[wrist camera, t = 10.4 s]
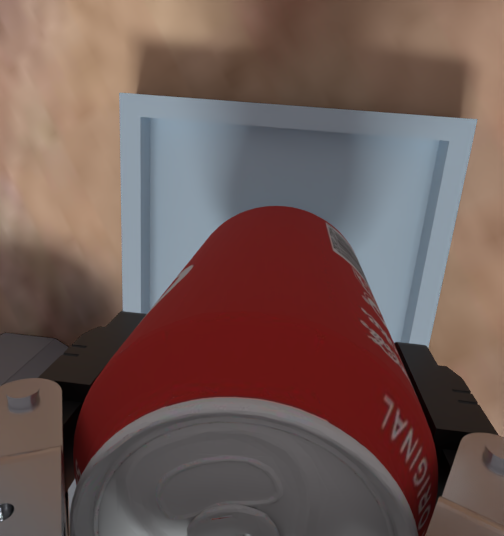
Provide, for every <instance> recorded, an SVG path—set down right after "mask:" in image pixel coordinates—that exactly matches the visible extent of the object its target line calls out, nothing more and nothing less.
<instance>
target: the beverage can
mask: <svg viewBox="0 0 504 536" xmlns="http://www.w3.org/2000/svg"><path fill="white" fill-rule="evenodd" d="M73 463H74V475H75V480H76V485H77V486H76V489H75V492H74V496H73V499H72V504H71V510H70V536H425V535H426V532H427V530H428V527H429V524H430V521H431V518H432V515H433V512H434V509H435V504H436V498H437V492H438V464H437V455H436V449H435V444H434V441H433V437H432V434H431V431H430V428H429V426H428V423H427V420H426V418H425V415H424V413H423V410H422V407H421V405H420V402H419V400H418V398H417V395H416V393H415V391H414V388H413V386H412V384H411V382H410V379H409V377H408V375H407V372H406V370H405V368H404V365H403V363H402V361H401V358H400V356H399V354H398V351H397V349H396V347H395V344H394V342H393V340H392V338H391V335H390V333H389V331H388V328H387V326H386V324H385V321H384V319H383V317H382V314H381V312H380V310H379V307H378V305H377V303H376V301H375V298H374V296H373V294H372V291H371V289H370V287H369V284H368V282H367V280H366V277H365V275H364V273H363V270H362V268H361V266H360V263H359V261H358V259H357V257H356V255H355V253H354V251H353V249H352V247H351V246H350V244H349V243H348V241H347V240H346V239H345V238H344V236H343V235H342V234H341V233H340V232H339V231H338V230H337V229H336V228H335V227H333V226H332V225H331V224H330V223H328V222H327V221H325V220H324V219H322V218H320V217H319V216H317V215H315V214H313V213H310V212H308V211H305V210H301V209H298V208H294V207H287V206H265V207H258V208H254V209H250V210H247V211H244V212H242V213H239V214H237V215H235V216H233V217H232V218H230V219H228V220H227V221H225V222H224V223H223V224H221V225H220V226H219V227H218V228H217V229H216V230H215V231H214V232H213V233H212V234H211V235H210V236H209V237H208V239H207V240H206V241H205V242H204V244H203V245H202V246H201V247H200V249H199V250H198V251H197V252H196V254H195V255H194V256H193V257H192V259H191V260H190V261H189V262H188V263H187V265H186V266H185V267H184V268H183V270H182V271H181V272H180V273H179V275H178V276H177V277H176V278H175V280H174V281H173V282H172V283H171V285H170V286H169V287H168V288H167V290H166V291H165V292H164V293H163V295H162V296H161V297H160V298H159V300H158V301H157V302H156V303H155V305H154V306H153V307H152V308H151V310H150V311H149V312H148V313H147V314H146V316H145V317H144V318H143V319H142V321H141V322H140V323H139V324H138V326H137V327H136V328H135V329H134V331H133V332H132V333H131V334H130V336H129V337H128V338H127V339H126V341H125V342H124V343H123V344H122V346H121V347H120V348H119V349H118V351H117V352H116V353H115V354H114V356H113V357H112V358H111V359H110V361H109V362H108V363H107V365H106V366H105V367H104V369H103V370H102V371H101V373H100V374H99V376H98V377H97V378H96V380H95V381H94V383H93V385H92V386H91V388H90V390H89V392H88V394H87V396H86V398H85V400H84V403H83V405H82V408H81V411H80V414H79V417H78V420H77V425H76V430H75V435H74V448H73Z"/></svg>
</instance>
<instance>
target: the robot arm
mask: <svg viewBox="0 0 504 536" xmlns="http://www.w3.org/2000/svg"><path fill="white" fill-rule="evenodd" d="M145 316H146V314H144V313H135V312H126V311H121V312H120V313H119V314H118V315H117V316H116V317H115V318H114V319H113V320H112V321H111V322H110V323H109V324H108V325H107V326H106V327H97V328H95V329H93V330H91V331H89V332H86V333H84V334H82V335H81V336H80V337H79V338H78V339H77V340H76V341H75V342H74V343H73V344H72V347H71V346H70V347H69V348H68V349H67V350H66V351H65V352H64V353H63V355H61V356H60V357H59V358H58V359H57V360H55V361H54V362H53V363H52V364H51V365H50V366H49V367H48V368H47V369H46V370H45V371H44V372H43V373H42V374H41V375H40V376H39V377H38V378H27V379H21V380H16V381H12V382H9V383H7V384H4V385H2V386H0V536H70V525H69V495H68V489H69V487H70V486H71V484H72V482H73V481H74V479H75V475H74V463H73V448H74V435H75V430H76V425H77V420H78V417H79V414H80V411H81V408H82V405H83V403H84V400H85V398H86V396H87V394H88V392H89V390H90V388H91V386H92V385H93V383H94V381H95V380H96V378H97V377H98V376H99V374H100V373H101V371H102V370H103V369H104V367H105V366H106V365H107V363H108V362H109V361H110V359H111V358H112V357H113V356H114V354H115V353H116V352H117V351H118V349H119V348H120V347H121V346H122V344H123V343H124V342H125V341H126V339H127V338H128V337H129V336H130V334H131V333H132V332H133V331H134V329H135V328H136V327H137V326H138V324H139V323H140V322H141V321H142V319H143V318H144V317H145ZM394 344H395V347H396V349H397V351H398V354H399V356H400V358H401V361H402V363H403V365H404V368H405V370H406V372H407V375H408V377H409V379H410V382H411V384H412V386H413V388H414V391H415V393H416V395H417V398H418V400H419V402H420V405H421V407H422V410H423V413H424V415H425V418H426V420H427V423H428V426H429V428H430V431H431V434H432V437H433V441H434V444H435V449H436V455H437V464H438V492H437V498H436V504H435V509H434V512H433V515H432V518H431V521H430V524H429V527H428V530H427V532H426V535H425V536H504V437H501V436H499V435H498V434H497V432H496V430H495V429H494V427H493V426H492V424H491V423H490V421H489V420H488V418H487V416H486V415H485V413H484V412H483V410H482V409H481V407H480V405H477V401H476V399H475V398H474V396H473V394H470V392H471V391H470V390H469V388H468V387H467V385H466V384H465V382H464V380H463V379H462V378H461V377H460V376H458V375H457V374H456V373H454V372H453V371H452V370H451V369H449V368H448V367H447V366H438V365H437V363H436V361H435V360H434V358H433V356H432V354H431V353H430V351H429V349H428V347H427V346H426V345H421V344H412V343H403V342H395V343H394Z"/></svg>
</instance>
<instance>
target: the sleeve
mask: <svg viewBox="0 0 504 536" xmlns="http://www.w3.org/2000/svg"><path fill="white" fill-rule="evenodd" d="M68 348H69V347H67V346H66V345H64V344H63V343H61V342H60V341H58V340H56V339H54V338H46V337H37V336H28V335H20V334H11V333H3V334H1V335H0V386H2V385H4V384H7V383H9V382H12V381H16V380H21V379H27V378H38V377H39V376H40V375H41V374H42V373H43V372H44V371H45V370H46V369H47V368H48V367H49V366H50V365H51V364H52V363H53V362H54V361H55V360H57V359H58V358H59V357H60V356H61V355H63V353H64V352H65V351H66V350H67V349H68ZM76 486H77V485H76V480H75V479H74V481H73V482H72V484H71V486H70V487H69V489H68V495H69V525H70V510H71V504H72V499H73V496H74V492H75V489H76Z"/></svg>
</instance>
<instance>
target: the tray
mask: <svg viewBox="0 0 504 536" xmlns="http://www.w3.org/2000/svg"><path fill="white" fill-rule="evenodd" d="M119 95H120V160H121V225H122V290H123V311H126V312H135V313H144V314H147V313H148V312H149V311H150V310H151V308H152V307H153V306H154V305H155V303H156V302H157V301H158V300H159V298H160V297H161V296H162V295H163V293H164V292H165V291H166V290H167V288H168V287H169V286H170V285H171V283H172V282H173V281H174V280H175V278H176V277H177V276H178V275H179V273H180V272H181V271H182V270H183V268H184V267H185V266H186V265H187V263H188V262H189V261H190V260H191V259H192V257H193V256H194V255H195V254H196V252H197V251H198V250H199V249H200V247H201V246H202V245H203V244H204V242H205V241H206V240H207V239H208V237H209V236H210V235H211V234H212V233H213V232H214V231H215V230H216V229H217V228H218V227H219V226H220V225H221V224H223V223H224V222H225V221H227V220H228V219H230V218H232V217H233V216H235V215H237V214H239V213H242V212H244V211H247V210H250V209H254V208H258V207H265V206H287V207H294V208H298V209H301V210H305V211H308V212H310V213H313V214H315V215H317V216H319V217H320V218H322V219H324V220H325V221H327V222H328V223H330V224H331V225H332V226H333V227H335V228H336V229H337V230H338V231H339V232H340V233H341V234H342V235H343V236H344V238H345V239H346V240H347V241H348V243H349V244H350V246H351V247H352V249H353V251H354V253H355V255H356V257H357V259H358V261H359V263H360V266H361V268H362V270H363V273H364V275H365V277H366V280H367V282H368V284H369V287H370V289H371V291H372V294H373V296H374V298H375V301H376V303H377V305H378V307H379V310H380V312H381V314H382V317H383V319H384V321H385V324H386V326H387V328H388V331H389V333H390V335H391V338H392V340H393V342H394V343H395V342H403V343H412V344H421V345H426V346H427V347H429V342H430V337H431V333H432V328H433V323H434V319H435V314H436V310H437V305H438V300H439V296H440V291H441V286H442V282H443V277H444V272H445V268H446V263H447V258H448V254H449V249H450V244H451V240H452V235H453V231H454V226H455V221H456V217H457V212H458V207H459V203H460V198H461V193H462V189H463V184H464V179H465V175H466V170H467V165H468V161H469V156H470V152H471V147H472V142H473V138H474V133H475V128H476V124H477V119H466V118H452V117H439V116H426V115H412V114H399V113H385V112H372V111H358V110H345V109H331V108H318V107H305V106H291V105H278V104H264V103H251V102H237V101H224V100H210V99H197V98H183V97H170V96H157V95H143V94H130V93H119Z"/></svg>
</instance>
